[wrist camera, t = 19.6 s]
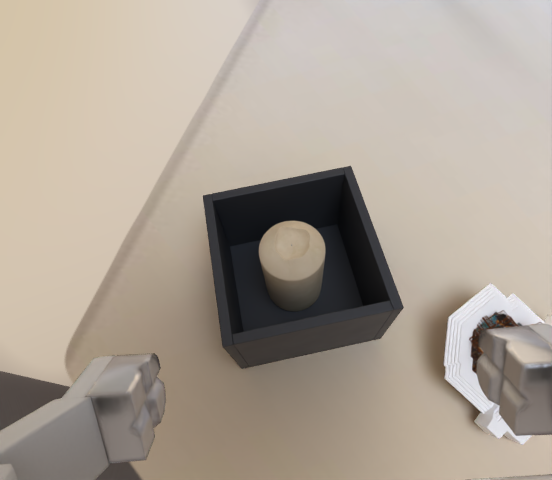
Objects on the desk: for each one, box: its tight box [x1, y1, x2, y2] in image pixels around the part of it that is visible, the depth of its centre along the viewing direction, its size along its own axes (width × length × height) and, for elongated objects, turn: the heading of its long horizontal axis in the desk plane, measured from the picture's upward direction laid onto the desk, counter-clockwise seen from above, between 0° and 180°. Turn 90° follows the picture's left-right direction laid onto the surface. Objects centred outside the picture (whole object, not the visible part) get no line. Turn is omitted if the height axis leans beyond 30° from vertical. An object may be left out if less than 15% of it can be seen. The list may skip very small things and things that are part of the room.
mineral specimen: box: [443, 283, 552, 445], centre depth 32 cm, size 12×12×7 cm
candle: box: [259, 221, 325, 312], centre depth 35 cm, size 6×6×10 cm
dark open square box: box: [203, 166, 403, 369], centre depth 35 cm, size 14×14×10 cm
